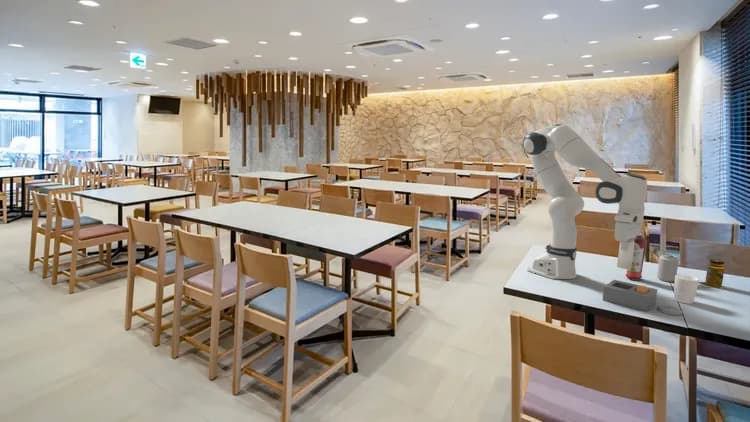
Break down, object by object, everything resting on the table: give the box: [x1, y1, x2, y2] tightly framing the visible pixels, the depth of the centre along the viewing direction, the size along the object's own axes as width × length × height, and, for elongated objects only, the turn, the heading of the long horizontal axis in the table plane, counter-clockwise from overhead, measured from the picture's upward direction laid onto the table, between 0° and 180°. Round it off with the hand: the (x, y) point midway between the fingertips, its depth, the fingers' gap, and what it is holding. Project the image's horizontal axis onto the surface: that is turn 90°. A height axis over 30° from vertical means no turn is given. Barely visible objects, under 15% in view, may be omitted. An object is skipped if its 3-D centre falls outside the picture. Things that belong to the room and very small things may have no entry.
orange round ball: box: [636, 284, 649, 293], centre depth 174 cm, size 4×4×4 cm
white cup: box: [673, 274, 700, 305], centre depth 179 cm, size 8×8×10 cm
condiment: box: [698, 258, 726, 290], centre depth 198 cm, size 7×8×12 cm
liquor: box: [625, 220, 648, 281], centre depth 204 cm, size 7×7×28 cm
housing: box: [602, 279, 658, 312], centre depth 177 cm, size 16×12×6 cm
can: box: [656, 253, 680, 283], centre depth 205 cm, size 8×8×12 cm
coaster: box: [657, 305, 683, 316], centre depth 169 cm, size 8×8×1 cm
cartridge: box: [616, 238, 635, 270], centre depth 177 cm, size 5×5×12 cm
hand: (626, 248), depth 176 cm, fingers closed on cartridge, 5 cm apart
